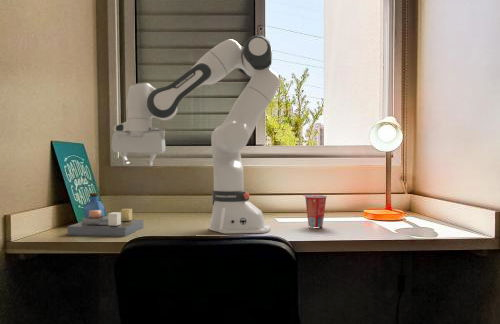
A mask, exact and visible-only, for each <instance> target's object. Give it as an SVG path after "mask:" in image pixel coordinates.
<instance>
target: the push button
mask: <svg viewBox="0 0 500 324" xmlns="http://www.w3.org/2000/svg"><path fill="white" fill-rule="evenodd" d="M99 218H101V210H92V211H89V219H99Z"/></svg>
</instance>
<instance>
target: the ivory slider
mask: <svg viewBox="0 0 500 324" xmlns="http://www.w3.org/2000/svg"><path fill="white" fill-rule="evenodd" d="M107 214H108V215H107V216H108V225H112V226H117V225H120V224H121V211H120V212H119V211H117V212H116V211H112V212H110V213H107Z"/></svg>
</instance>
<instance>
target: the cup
mask: <svg viewBox="0 0 500 324" xmlns="http://www.w3.org/2000/svg"><path fill="white" fill-rule="evenodd" d="M301 196H303V197H305V205H306V216H307V223H308V224H307V225H308V227H309V226H310V227H322V228H323V227H324V216H325V211H326V203H327V197H328V196H327V195H324V194H323V195H322V194H303V195H301ZM310 227H309V228H310Z"/></svg>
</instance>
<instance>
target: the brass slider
mask: <svg viewBox="0 0 500 324" xmlns="http://www.w3.org/2000/svg"><path fill="white" fill-rule="evenodd" d="M120 212H121V221H130V220H132V219H133V208H122V209H120Z"/></svg>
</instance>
